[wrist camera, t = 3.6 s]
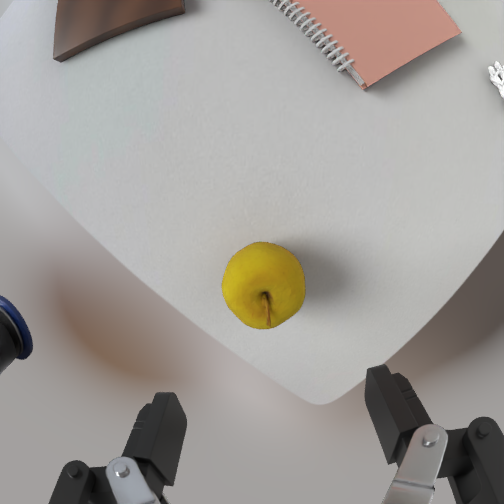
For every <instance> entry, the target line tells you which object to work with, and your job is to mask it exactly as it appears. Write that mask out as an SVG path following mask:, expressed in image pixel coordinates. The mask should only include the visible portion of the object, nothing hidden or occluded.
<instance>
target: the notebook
mask: <svg viewBox="0 0 504 504" xmlns="http://www.w3.org/2000/svg"><path fill="white" fill-rule="evenodd" d="M277 1H278V0H269V2H273V5H274V6H276V7H278V9H279V11H284V15H285V16H289V20H291V21H295V22H294V24H295V25H296V26H300V25H301V26H300V30H301V31H306V30H307V31H306V33H305V35H306V36H307V37H310V36H312V35H313V36H312V37H311V39H310V40H311V42H316V41H318V40H320V41H319V42H318V43H317V44H316V47H317V48H320V47H323V46H324V45H326V46H325V47H324V48H323V49H322V51H321V52H322V53H323V54H325V53H327V52H329V51H331V53H330V54H328V56H327V57H326V58H327V59H328V60H330V59H332V58H334V57H336V58H337V59H335V60H334V61H333V62H332V65H333V66H335V65H337V64H339V63H340V62H341V64H342V65H341V66H340V67H339V68H338V69H337V71H338V72H340V71H342V70H344V69H347V71H348V72H349V73H350V74H351V76H352V77H353V78H354V79H355V81H356V82H357V83H358V84H359V86H360V87H361V88H362V90H364V89H365V88H367V87H369V86H370V85H372V84H373V83H375V82H376V81H378V80H380V79H381V78H383V77H384V76H386V75H388V74H389V73H391V72H393V71H394V70H396V69H397V68H399V67H401V66H402V65H404V64H406V63H408V62H409V61H411V60H413V59H414V58H416V57H418V56H420V55H421V54H423V53H425V52H427V51H428V50H430V49H432V48H434V47H435V46H437V45H439V44H441V43H443V42H445V41H447V40H448V39H450V38H452V37H454V36H456V35H458V34H460V33H462V32H461V30H460V29H459V28H458V26H457V25H456V23H455V22H454V21H453V20H452V18H451V17H450V16H449V14H448V13H447V12H446V11H445V9H444V8H443V7H442V6H441V5H440V3H439V2H438V1H437V0H280V1H281V2H282V3H280V4H278V5H275V4H276V2H277ZM283 5H285V6H286V8H285V9H281V7H282V6H283ZM289 9H290V10H291V11H292V12H291V13H289V14H286V13H287V11H288V10H289ZM293 15H296V16H297V17H296V18H294V19H292V17H293ZM299 20H301V21H302V22H301V23H299V24H297V22H298V21H299ZM305 25H306V26H307V27H306V28H304V29H302V28H303V27H304V26H305ZM310 31H312V33H310V34H308V33H309V32H310ZM316 36H317V37H318V38H316V39H315V37H316ZM322 42H323V43H322ZM321 43H322V44H321ZM326 49H327V50H326Z"/></svg>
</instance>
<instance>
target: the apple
mask: <svg viewBox="0 0 504 504" xmlns="http://www.w3.org/2000/svg"><path fill="white" fill-rule="evenodd" d="M222 293H223V296H224V299H225V301H226V304H227V306H228V307H229V309H230V310H231V311H232V312H233V313H234V314H235V315H236V316H237V317H238V318H239V319H240V320H241V321H242V322H243V323H244V324H246V325H247V326H250V327H252V328H256V329H270V328H274V327H276V326H278V325H280V324H281V323H283V322H284V321H286V320H287V319H289V318H290V317H292V316H293V315H294V314H295V313H296V312H298V311H299V309H300V308H301V306H302V304H303V301H304V298H305V277H304V272H303V269H302V267H301V264H300V262H299V261H298V259H297V258H296V257H295V256H294V255H293V254H292V253H291V252H289V251H288V250H287V249H285V248H283V247H281V246H279V245H276V244H272V243H268V242H256V243H253V244H250V245H248V246H247V247H245V248H243V249H242V250H240V251H238V252H237V253H236V254H235V255H234V256H233V257H232V258H231V260H230V261H229V263H228V265H227V268H226V270H225V273H224V276H223V280H222Z"/></svg>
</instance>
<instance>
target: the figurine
mask: <svg viewBox="0 0 504 504" xmlns="http://www.w3.org/2000/svg"><path fill="white" fill-rule="evenodd" d="M494 67H495V69H496V72H495V69H494V68H493V67H491V66H489V67H488V70H489V72H490V80H491V82H492V83H493V84H494V85H495V86H496V87H498V89H499V92H500V94H501V96H502V97H503V99H504V85H503V83H504V71H503V68H504V67H502V65H500V63H499V62H495V63H494ZM498 75H500V77H501V78H502V81H501V80H500V78H499V77H498Z"/></svg>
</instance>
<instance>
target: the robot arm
mask: <svg viewBox="0 0 504 504" xmlns="http://www.w3.org/2000/svg"><path fill="white" fill-rule="evenodd" d="M23 350H24V340H23V337H22V334H21V331H20V329H19V327H18V325H17V324H16V322H15V321H14V319H13V318H12V316H11V315H10V314H9V313H8V312H7V311H6V310H5V309H4V308H3V307H1V306H0V374H1V373H2V372H3V371H4V370H5V369H6V368H7V367H8V366H9V365H10V364H11V363H12V361H13V360H14V359H15V358H16V357H17V356H19V355H20V354H21V353H22V352H23ZM365 402H366V406H367V409H368V411H369V414H370V417H371V419H372V422H373V424H374V427H375V430H376V432H377V435H378V438H379V441H380V443H381V446H382V449H383V451H384V454H385V457H386V460H387V463H388V465H389V464H392V463H395V462H396V463H397V465H398V470H397V473H396V475H395V477H394V479H393V481H392V483H391V485H390V487H389V489H388V491H387V494H386V495H385V497H384V499H383V501H382V503H381V504H430V503H431V500H432V497H433V495H434V491H435V488H434V484H435V481H436V479H437V478H444V477H447V478H448V481H449V483H450V486H451V489H452V492H453V495H454V498H455V501H456V504H504V435H503V433H502V431H501V430H500V428H499V426H498V425H497V423H496V422H495V421H494V420H493V419H491V418H489V417H479V418H476V419H475V420H473V421H472V422H471V423H470V425H469V427H468V428H462V429H455V430H445V429H444V428H442V427H441V426H439V425H436V424H433V423H432V421H431V419H430V418H429V416H428V414H427V412H426V410H425V409H424V407H423V405H422V403H421V401H420V400H419V398H418V397H417V395H416V393H415V391H414V390H413V389H412V386H411V384H410V383H409V381H408V379H407V378H405V377H404V376H402V375H401V374H400V373H395V374H391V373H390V371H389V369H388V367H387V366H386V365H385V364H383V365H379V366H376V367H372V368H368V369H367V375H366V385H365ZM186 428H187V419H186V415H185V413H184V411H183V409H182V407H181V405H180V403H179V400H178V398H177V396H176V394H175V393H173V392H166V393H165V392H159V393H156V394H155V396H154V399H153V402H152V404H146V405H145V406H144V407H143V408H142V409H141V410H140V412H139V414H138V416H137V419H136V422H135V424H134V426H133V429H132V431H131V434H130V436H129V439H128V441H127V444H126V446H125V449H124V452H123V454H122V456H121V457H118V458H115V459H113V460H112V461H111V462H109V464H108V465H107V466H105V467H92V468H89V467H88V466H87V465H86V464H85V463H84V462H82V461H78V460H75V461H71V462H69V463H67V464H66V465H65V466H64V467H63V469H62V472H61V474H60V476H59V479H58V481H57V484H56V486H55V489H54V491H53V494H52V496H51V499H50V502H49V504H170V502H169V501H168V499H167V498H166V496H165V494H164V493H163V488H164V485H166V486H173V485H174V481H175V476H176V472H177V467H178V462H179V458H180V454H181V450H182V445H183V441H184V437H185V432H186Z"/></svg>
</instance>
